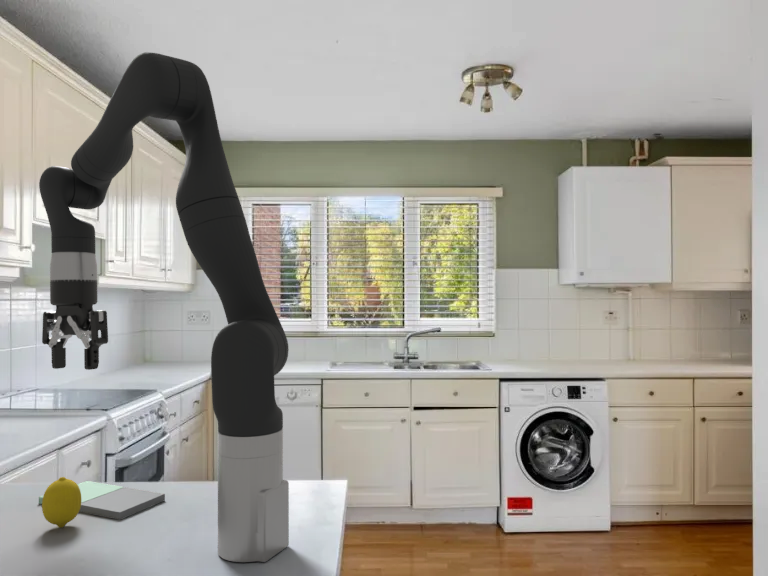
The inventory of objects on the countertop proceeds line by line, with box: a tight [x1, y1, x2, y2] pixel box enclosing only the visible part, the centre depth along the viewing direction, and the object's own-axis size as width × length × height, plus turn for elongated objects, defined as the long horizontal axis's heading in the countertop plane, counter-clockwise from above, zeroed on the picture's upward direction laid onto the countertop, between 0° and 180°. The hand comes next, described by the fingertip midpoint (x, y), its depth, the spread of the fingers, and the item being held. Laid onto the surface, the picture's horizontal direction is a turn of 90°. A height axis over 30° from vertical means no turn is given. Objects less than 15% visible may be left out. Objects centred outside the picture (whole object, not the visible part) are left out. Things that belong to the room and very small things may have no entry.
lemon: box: [41, 476, 81, 529], centre depth 92 cm, size 6×6×8 cm
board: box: [38, 480, 166, 520], centre depth 104 cm, size 20×10×1 cm, turn 66°
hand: (74, 368), depth 104 cm, fingers open, 8 cm apart
